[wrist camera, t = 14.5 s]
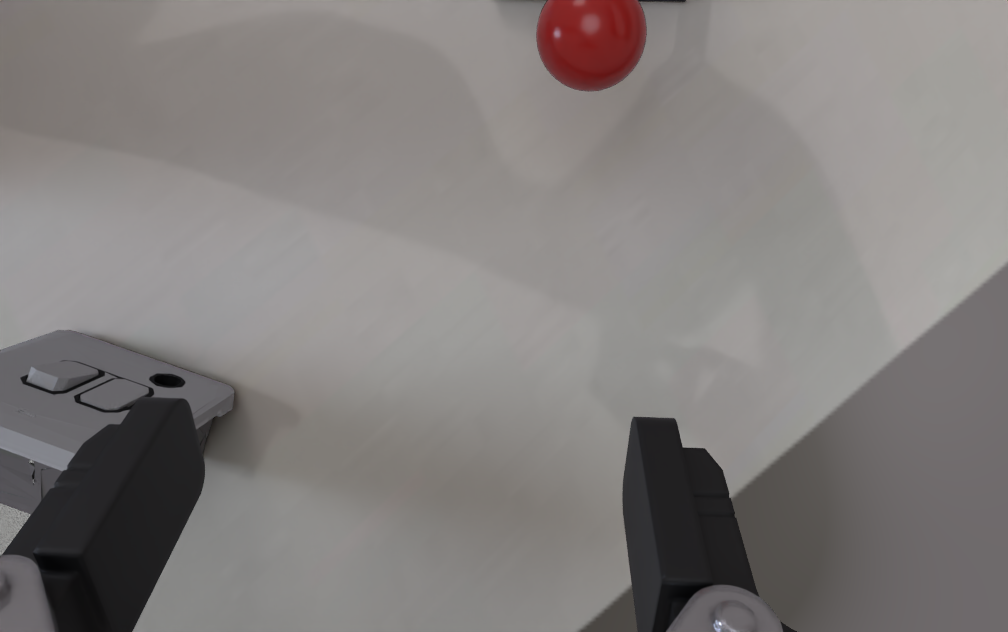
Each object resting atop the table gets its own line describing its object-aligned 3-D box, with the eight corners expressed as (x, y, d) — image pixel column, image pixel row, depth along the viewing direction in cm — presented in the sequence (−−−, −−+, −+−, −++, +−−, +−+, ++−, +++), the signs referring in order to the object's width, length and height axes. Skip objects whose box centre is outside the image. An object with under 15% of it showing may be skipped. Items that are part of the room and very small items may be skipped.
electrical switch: (245, 388, 37) (131, 424, 28) (215, 489, 38) (93, 558, 28) (69, 326, 38) (-99, 341, 29) (41, 426, 38) (-133, 472, 29)
